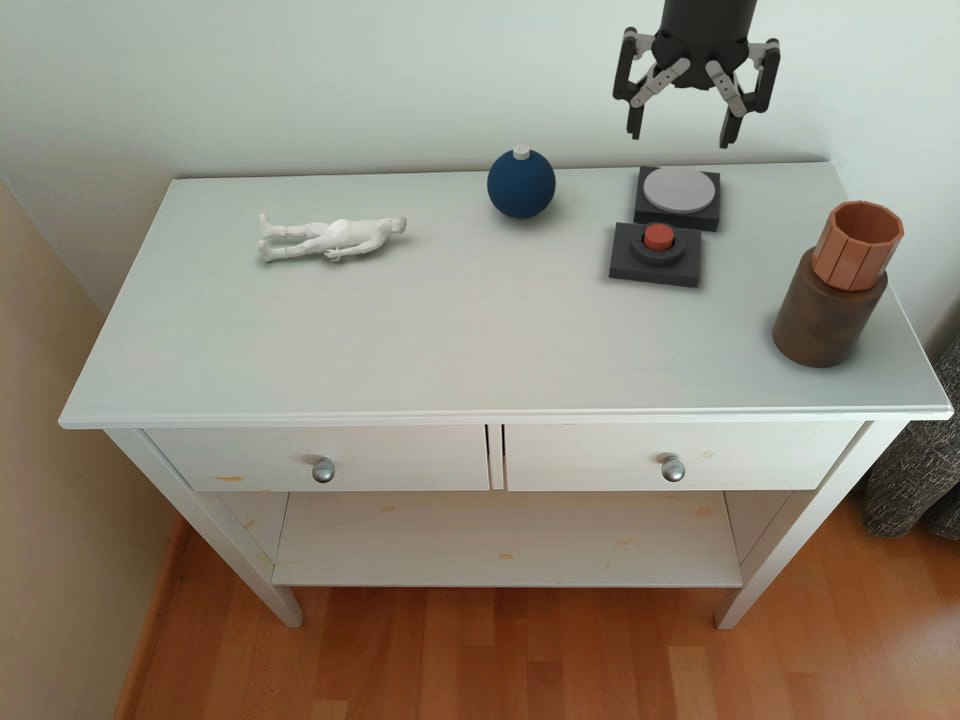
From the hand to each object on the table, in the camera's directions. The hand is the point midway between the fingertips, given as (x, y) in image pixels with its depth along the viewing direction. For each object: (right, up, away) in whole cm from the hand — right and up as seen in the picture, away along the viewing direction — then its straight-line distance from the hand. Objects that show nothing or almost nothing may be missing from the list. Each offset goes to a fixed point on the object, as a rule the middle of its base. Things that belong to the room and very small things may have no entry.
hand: (679, 139), depth 73 cm
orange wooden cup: (+15, -13, -3) cm, 20 cm away
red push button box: (+1, -10, +14) cm, 17 cm away
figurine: (-37, -8, +17) cm, 42 cm away
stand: (+15, -20, +5) cm, 26 cm away
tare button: (+1, -8, +11) cm, 14 cm away
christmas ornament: (-15, -3, +20) cm, 25 cm away
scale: (+5, -2, +20) cm, 20 cm away
